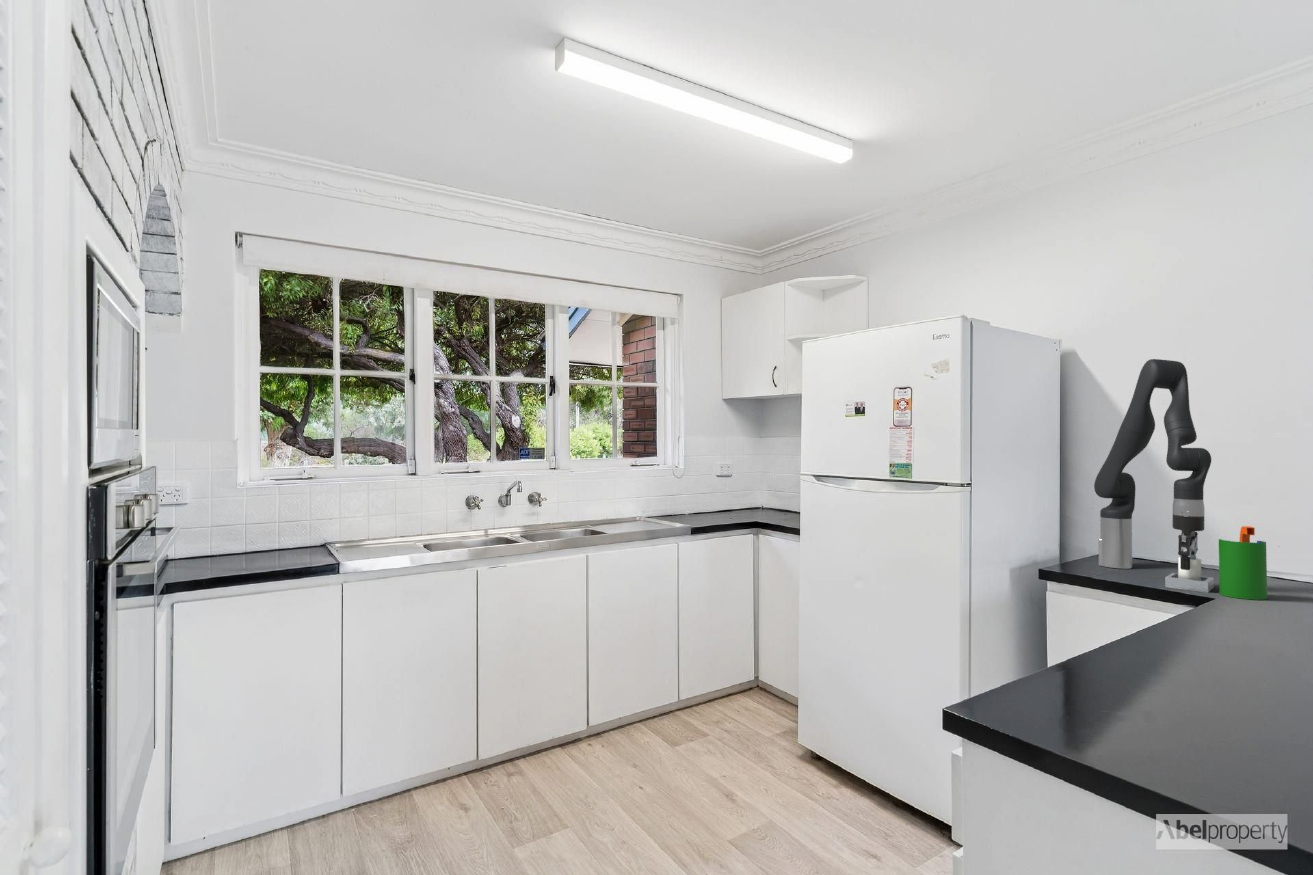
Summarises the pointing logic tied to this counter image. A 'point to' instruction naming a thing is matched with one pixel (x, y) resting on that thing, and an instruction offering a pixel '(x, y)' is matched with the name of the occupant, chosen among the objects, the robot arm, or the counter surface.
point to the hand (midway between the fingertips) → (1188, 567)
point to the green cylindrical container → (1243, 567)
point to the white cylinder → (1194, 569)
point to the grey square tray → (1189, 583)
